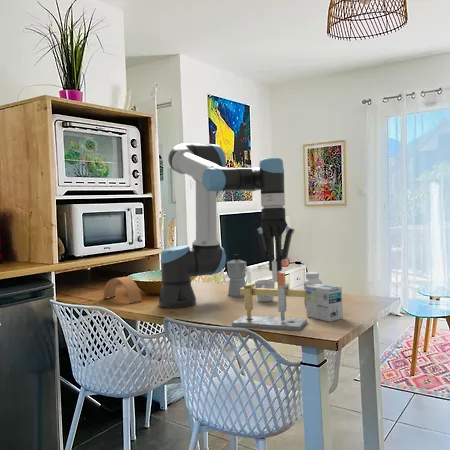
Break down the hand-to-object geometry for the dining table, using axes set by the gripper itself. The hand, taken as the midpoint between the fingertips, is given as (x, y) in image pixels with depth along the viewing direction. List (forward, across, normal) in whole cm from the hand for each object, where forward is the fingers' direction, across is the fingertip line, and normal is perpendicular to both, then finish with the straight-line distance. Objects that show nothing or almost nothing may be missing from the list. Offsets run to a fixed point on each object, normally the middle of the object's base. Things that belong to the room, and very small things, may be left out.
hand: (276, 281), depth 146 cm
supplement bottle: (+14, +5, +28) cm, 32 cm away
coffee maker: (+14, -33, +45) cm, 58 cm away
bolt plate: (+14, -3, 0) cm, 14 cm away
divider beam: (+13, -2, +2) cm, 13 cm away
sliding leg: (+13, +2, +2) cm, 13 cm away
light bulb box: (+14, +12, +13) cm, 23 cm away
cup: (+14, -16, +34) cm, 40 cm away
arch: (+14, -78, +24) cm, 83 cm away
